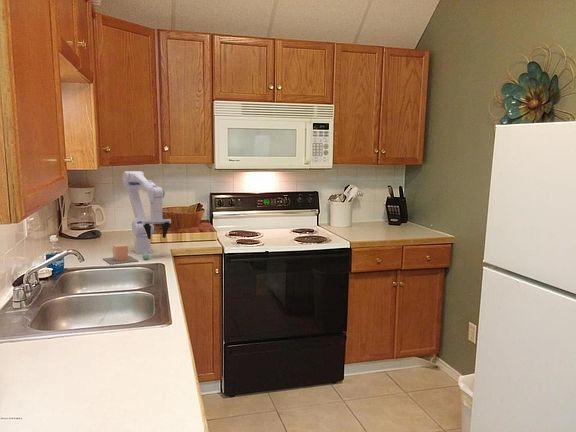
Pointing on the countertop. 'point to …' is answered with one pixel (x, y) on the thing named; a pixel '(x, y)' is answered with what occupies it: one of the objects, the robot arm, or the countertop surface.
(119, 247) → the orange brown block
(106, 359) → the countertop surface
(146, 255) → the ball
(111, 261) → the mat
